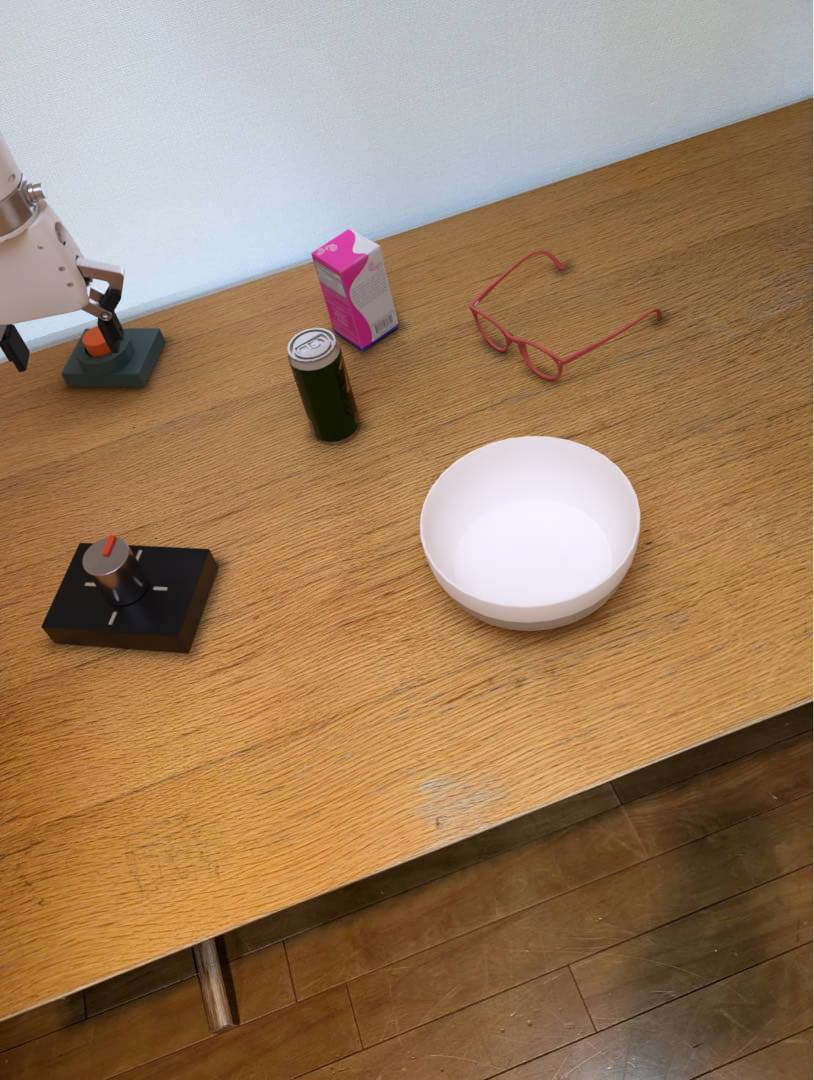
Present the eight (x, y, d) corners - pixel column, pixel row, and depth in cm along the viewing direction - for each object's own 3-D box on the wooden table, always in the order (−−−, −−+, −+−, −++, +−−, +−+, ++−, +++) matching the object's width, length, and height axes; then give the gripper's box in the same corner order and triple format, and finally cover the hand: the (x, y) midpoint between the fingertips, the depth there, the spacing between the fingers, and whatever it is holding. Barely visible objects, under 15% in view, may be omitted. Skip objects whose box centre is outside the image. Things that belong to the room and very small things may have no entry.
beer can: (324, 454, 105) (296, 370, 96) (305, 424, 109) (277, 340, 99) (369, 433, 106) (346, 348, 97) (349, 404, 109) (325, 319, 100)
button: (83, 357, 116) (77, 346, 115) (94, 336, 118) (88, 325, 117) (111, 357, 115) (105, 345, 114) (122, 336, 117) (116, 325, 116)
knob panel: (54, 643, 95) (39, 625, 93) (91, 560, 101) (78, 541, 99) (188, 653, 92) (177, 635, 90) (218, 566, 98) (209, 547, 96)
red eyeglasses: (458, 334, 114) (453, 299, 110) (556, 263, 119) (554, 228, 115) (570, 403, 104) (569, 367, 100) (671, 323, 109) (673, 286, 105)
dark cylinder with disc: (139, 607, 93) (118, 574, 88) (97, 605, 94) (73, 572, 89) (154, 569, 95) (134, 535, 91) (112, 567, 96) (90, 533, 92)
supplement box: (369, 306, 119) (350, 225, 110) (400, 327, 116) (383, 245, 107) (331, 331, 117) (309, 251, 108) (362, 353, 114) (341, 272, 105)
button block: (67, 388, 119) (53, 363, 116) (92, 341, 123) (79, 316, 120) (143, 389, 116) (131, 363, 113) (165, 341, 121) (154, 316, 118)
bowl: (483, 476, 100) (475, 415, 93) (666, 527, 92) (671, 465, 86) (397, 622, 91) (380, 567, 84) (593, 693, 83) (592, 638, 76)
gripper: (88, 164, 89) (155, 313, 102) (-96, 202, 90) (-6, 346, 103) (81, 211, 84) (151, 361, 98) (-114, 251, 85) (-17, 395, 99)
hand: (70, 353), depth 100 cm, fingers open, 9 cm apart
